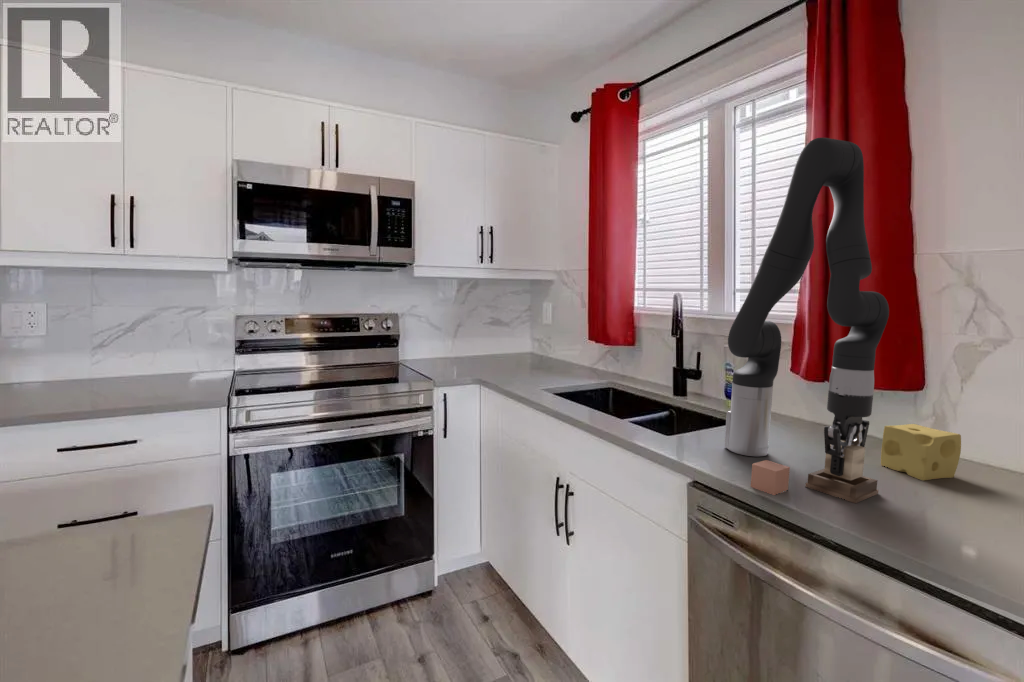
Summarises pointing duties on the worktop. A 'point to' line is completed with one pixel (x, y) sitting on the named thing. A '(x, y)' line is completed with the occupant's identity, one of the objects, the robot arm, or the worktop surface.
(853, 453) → the base block
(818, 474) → the socket board
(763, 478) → the top block
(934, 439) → the cheese
